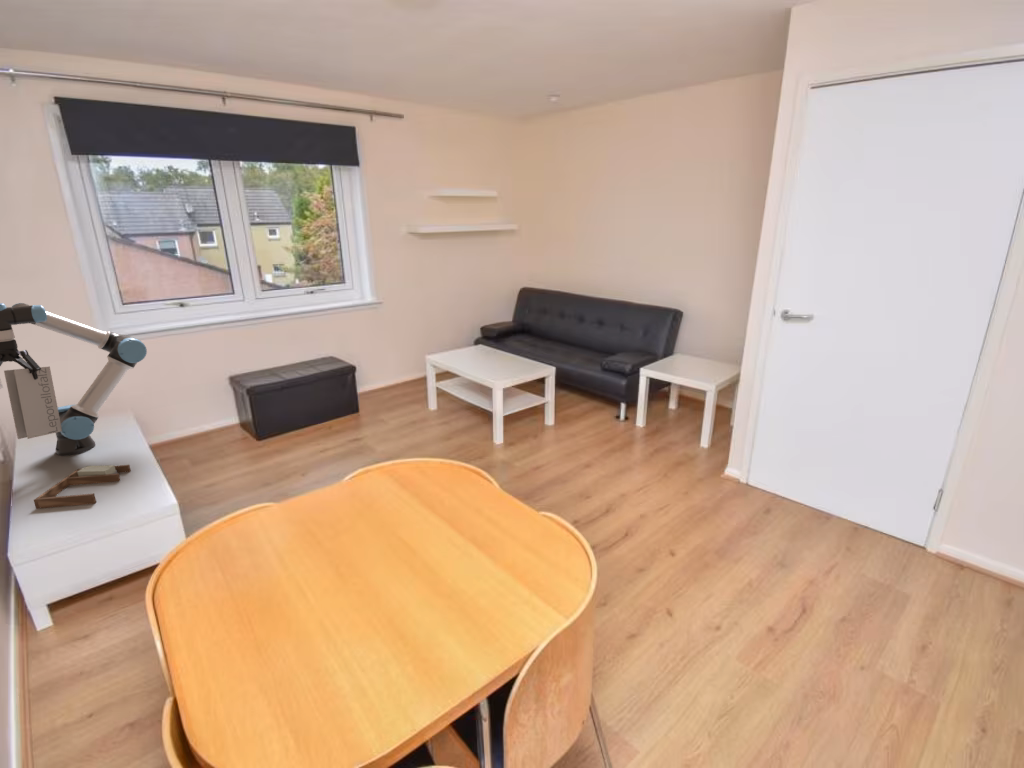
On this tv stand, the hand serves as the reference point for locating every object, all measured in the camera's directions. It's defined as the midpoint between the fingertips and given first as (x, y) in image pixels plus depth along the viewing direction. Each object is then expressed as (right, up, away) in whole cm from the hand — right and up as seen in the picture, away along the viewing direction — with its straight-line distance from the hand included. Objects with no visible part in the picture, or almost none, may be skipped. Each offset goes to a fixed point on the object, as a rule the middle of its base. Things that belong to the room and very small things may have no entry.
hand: (17, 387), depth 220 cm
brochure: (+7, -21, +4) cm, 23 cm away
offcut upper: (+33, -39, +3) cm, 51 cm away
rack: (+35, -44, -5) cm, 56 cm away
